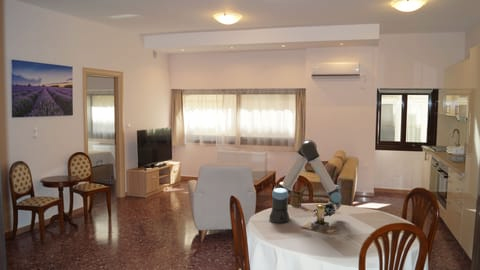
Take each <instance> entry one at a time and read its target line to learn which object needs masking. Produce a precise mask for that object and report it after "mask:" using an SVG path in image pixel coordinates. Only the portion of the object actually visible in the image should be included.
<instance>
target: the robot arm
mask: <svg viewBox="0 0 480 270" xmlns="http://www.w3.org/2000/svg"><path fill="white" fill-rule="evenodd" d="M296 154H297V156H296V158H295V160H294V161H293V163H292V165H291V167H290V168H289V170H288V172H287V174H286V175H285V176H284V179H283V180H282V181H280V182H279V183H278V185H277V186H276V188H274V189H273V190H272V193H271V195H272V196H271V197H272V199H271V200H272V201H271V202H272V203H271V212H270V214H269V217H268V218H269V219H268V220H269V221H270V222H271V223H274V224H287V223H289V222H290V220H291V219H290V214H289V211H288V208H289V207H288V206H289V198H290V196H291V195H292V192H293V191H294V189H293V187H294V185H295V183H296V182H297V180H298V179H299V176H300V174H301V173H302V171H303V169H304V168H305V166H306V164H309V163H310V165H311V167H312V168H313V171H314V172H315V174H316V176H317V178H318V180H319V181H320V182H321V184H322V186H323V188H324V190H325V191H326V192H327V194H328V196H329V200H328V202H327V203H325V205H326V207H325V212H324V213H323V214H321V218H324V219H325V217H331V216H332V215H334V214H336V211H337V210H339V209H340V208H341V206H342V204H341V200H342V195H341V187H340V185H338V184H335V182H334V181H333V179H332V177H331V175H330V174H329V172H328V171H327V169H326V167H325V166H324V164H323V162H322V160H321V158H320V157H321V156H320V154H319V152H318V149H317V144H316V142H315V141H313V140H311V139H305V140H304V141H302V143H301V144H300V146H299V148H298V150H297V153H296ZM312 214H313V216H312V217H314V218H315V217H317V207H316V208H315V209H313V213H312Z"/></svg>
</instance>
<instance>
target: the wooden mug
mask: <svg viewBox="0 0 480 270" xmlns="http://www.w3.org/2000/svg"><path fill="white" fill-rule="evenodd" d="M305 189H306V185H304V186H302V187H301V189H299V191H298V190H293V191H292V193H291V198H290V202H289V205H290V206H294V207H297V206H301V205H302V204H301V203H302V202H301V200H302V199H303V196H304V193H303V191H304V190H305Z"/></svg>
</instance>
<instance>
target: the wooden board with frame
mask: <svg viewBox="0 0 480 270" xmlns="http://www.w3.org/2000/svg"><path fill="white" fill-rule="evenodd" d="M301 229H303V230H308V231H314V232H319V233H323V234H329V235H333V234H334V233H336V232H337V231H338V230H339V229H340V228H339V226H333V225H330V222H327V221H324V225H320V224H317V219H315V220H314V221H313V222H311V221H309V222H307V223H306V224H304V225H302V226H301Z"/></svg>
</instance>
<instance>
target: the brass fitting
mask: <svg viewBox="0 0 480 270" xmlns="http://www.w3.org/2000/svg"><path fill="white" fill-rule="evenodd" d="M315 207H316V208H317V216H316V220H317V224H320V225H324V222H325V217H324V218H321V214H323V213H324V212H325V207H326V203H325V204H324V203H317V204H316V205H315Z"/></svg>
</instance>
